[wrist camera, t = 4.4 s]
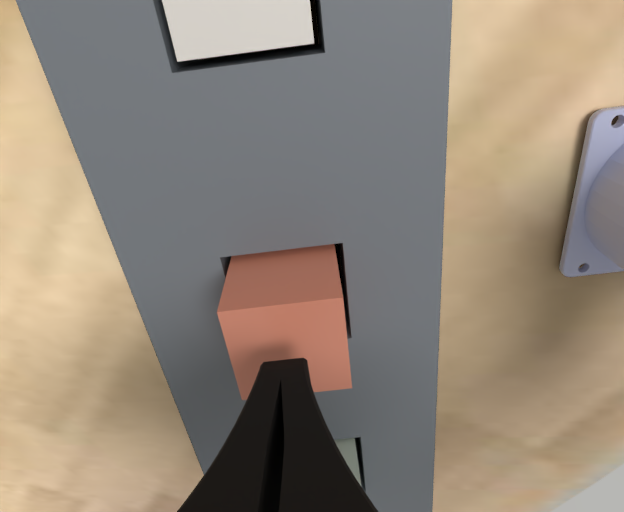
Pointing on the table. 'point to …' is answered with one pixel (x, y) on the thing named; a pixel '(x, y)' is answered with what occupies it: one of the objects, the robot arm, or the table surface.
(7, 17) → the table surface
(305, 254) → the terracotta button
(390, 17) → the button panel
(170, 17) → the white cube
